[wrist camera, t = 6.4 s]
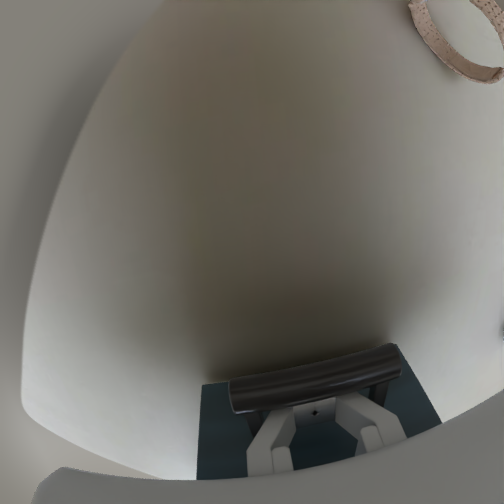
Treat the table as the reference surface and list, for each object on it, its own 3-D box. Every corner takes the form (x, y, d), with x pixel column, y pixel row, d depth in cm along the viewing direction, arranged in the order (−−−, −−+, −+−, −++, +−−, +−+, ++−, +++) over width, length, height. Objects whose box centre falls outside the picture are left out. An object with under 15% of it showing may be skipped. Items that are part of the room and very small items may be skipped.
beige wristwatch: (415, -7, 8) (478, -36, 4) (470, 68, 10) (540, 67, 5) (385, 13, 9) (450, -20, 4) (446, 92, 11) (521, 95, 6)
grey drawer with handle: (172, 317, 14) (142, 456, 7) (404, 270, 13) (493, 372, 7) (247, 471, 21) (252, 540, 15) (372, 444, 21) (394, 509, 14)
